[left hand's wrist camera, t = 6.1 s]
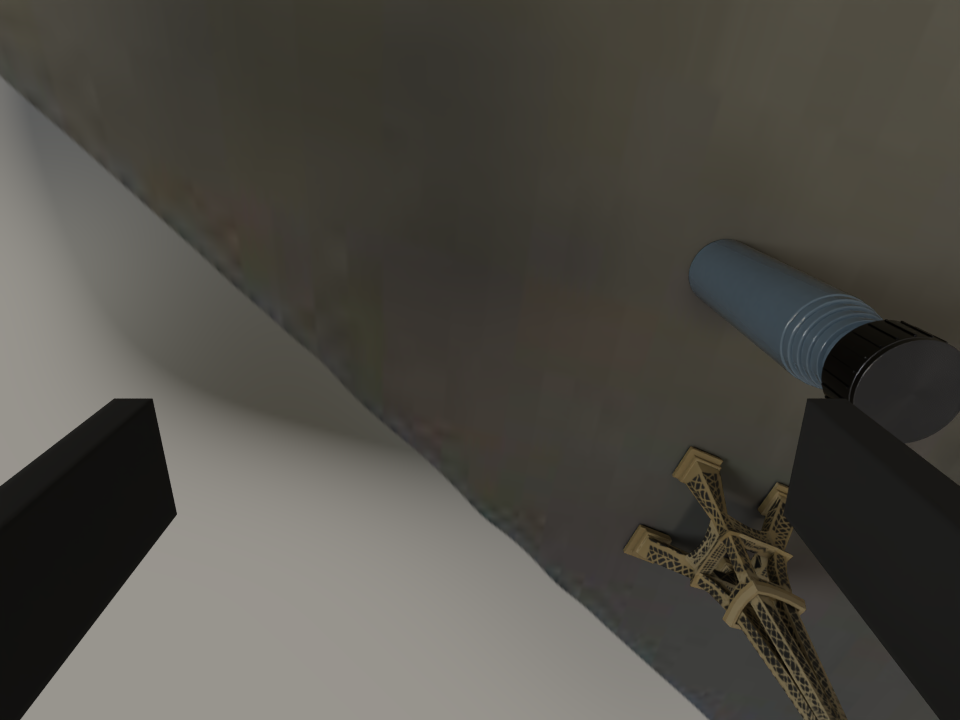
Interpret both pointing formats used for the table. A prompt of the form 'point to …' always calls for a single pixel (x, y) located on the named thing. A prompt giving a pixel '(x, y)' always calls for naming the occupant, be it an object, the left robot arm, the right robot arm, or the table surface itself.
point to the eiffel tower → (748, 582)
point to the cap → (896, 377)
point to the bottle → (776, 305)
